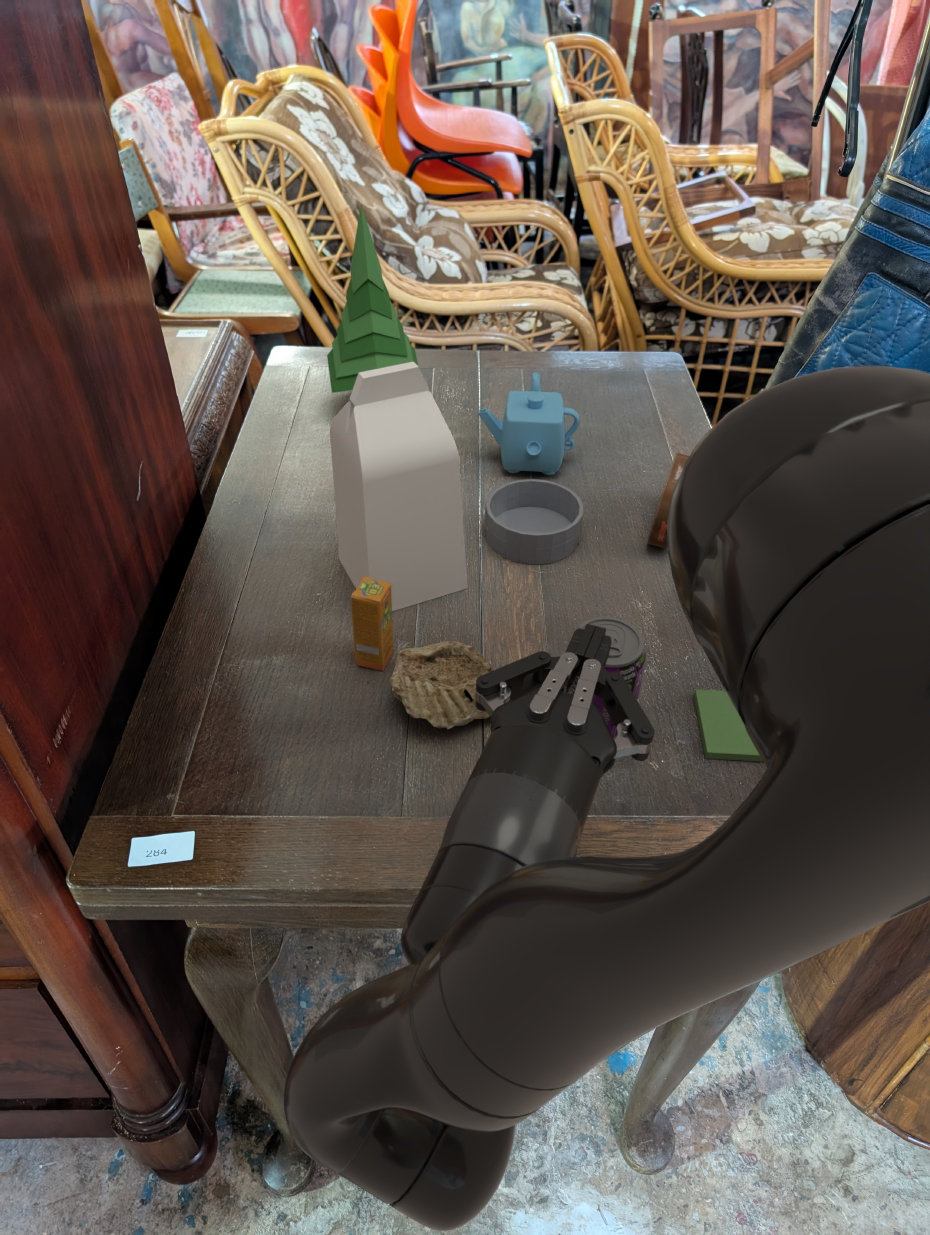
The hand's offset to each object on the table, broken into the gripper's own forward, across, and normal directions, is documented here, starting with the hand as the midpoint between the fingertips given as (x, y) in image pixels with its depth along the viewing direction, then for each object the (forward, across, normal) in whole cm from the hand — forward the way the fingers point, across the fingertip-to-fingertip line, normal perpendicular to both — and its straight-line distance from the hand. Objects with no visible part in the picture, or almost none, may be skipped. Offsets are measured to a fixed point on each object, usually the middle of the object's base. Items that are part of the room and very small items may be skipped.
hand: (595, 633), depth 59 cm
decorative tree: (+57, +48, +20) cm, 78 cm away
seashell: (+5, +15, +20) cm, 25 cm away
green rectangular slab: (+13, -13, +20) cm, 27 cm away
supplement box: (+8, +24, +20) cm, 32 cm away
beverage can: (+8, 0, +20) cm, 22 cm away
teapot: (+52, +22, +20) cm, 60 cm away
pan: (+36, +15, +20) cm, 44 cm away
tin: (+44, 0, +20) cm, 48 cm away
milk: (+22, +28, +20) cm, 41 cm away
